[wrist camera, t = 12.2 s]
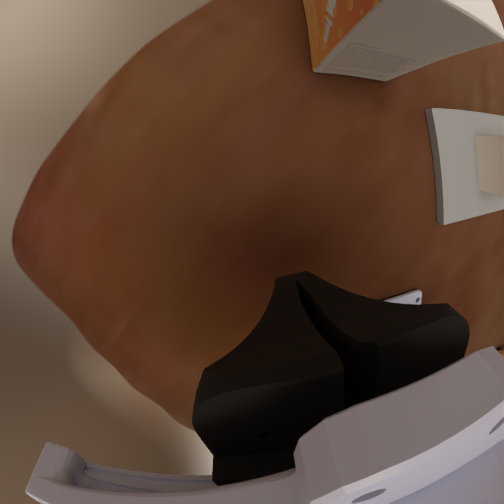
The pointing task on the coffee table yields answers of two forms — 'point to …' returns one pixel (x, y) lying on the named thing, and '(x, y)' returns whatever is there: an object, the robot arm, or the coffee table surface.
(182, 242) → the coffee table surface
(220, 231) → the coffee table surface
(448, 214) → the base board
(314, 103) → the coffee table surface
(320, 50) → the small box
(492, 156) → the beige cardboard cube
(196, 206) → the coffee table surface
